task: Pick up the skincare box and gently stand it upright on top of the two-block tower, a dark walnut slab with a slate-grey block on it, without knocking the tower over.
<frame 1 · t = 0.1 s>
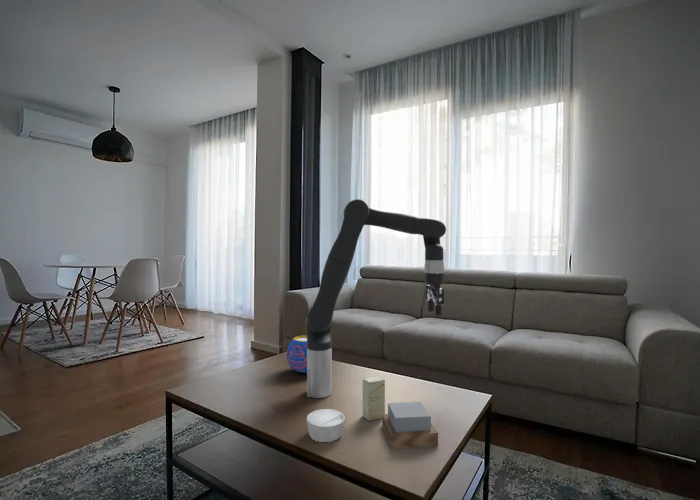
hand: (434, 313, 142), 29 cm above the table, tool pointing down, fingers open, 8 cm apart
ramekin: (325, 435, 106), on the table
skincare box: (373, 417, 118), on the table
walnut base block: (408, 436, 106), on the table, touching slate top block
slate top block: (408, 423, 106), point 4 cm above the table, touching walnut base block
ceramic pot: (306, 371, 162), on the table
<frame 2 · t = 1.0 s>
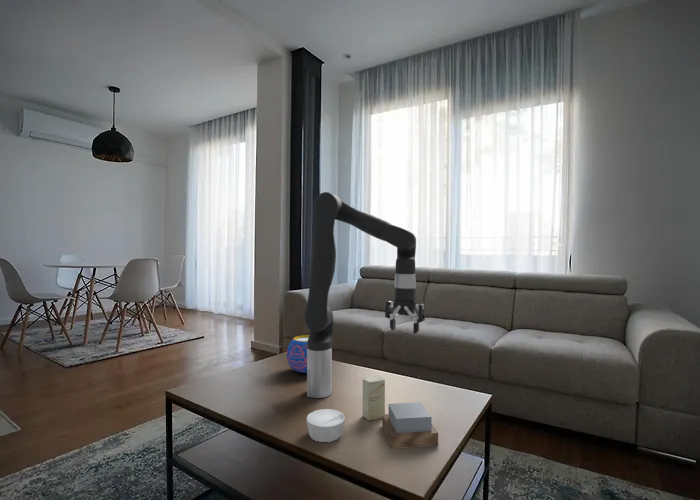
hand: (404, 331, 130), 25 cm above the table, tool pointing down, fingers open, 8 cm apart
nothing on the table moved.
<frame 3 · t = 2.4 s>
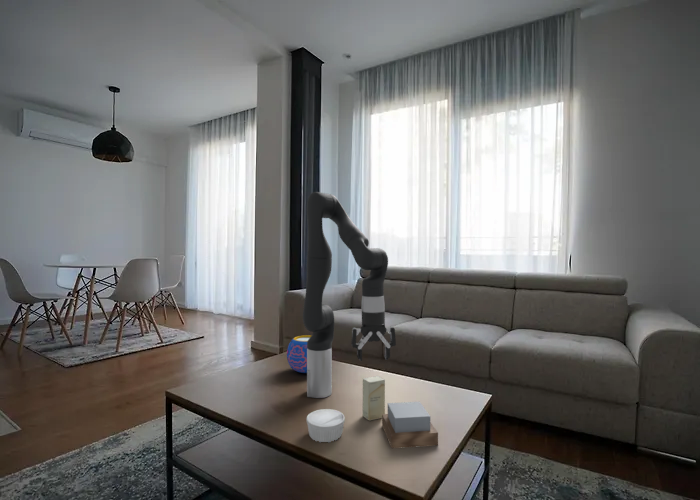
hand: (373, 359, 118), 18 cm above the table, tool pointing down, fingers open, 8 cm apart
nothing on the table moved.
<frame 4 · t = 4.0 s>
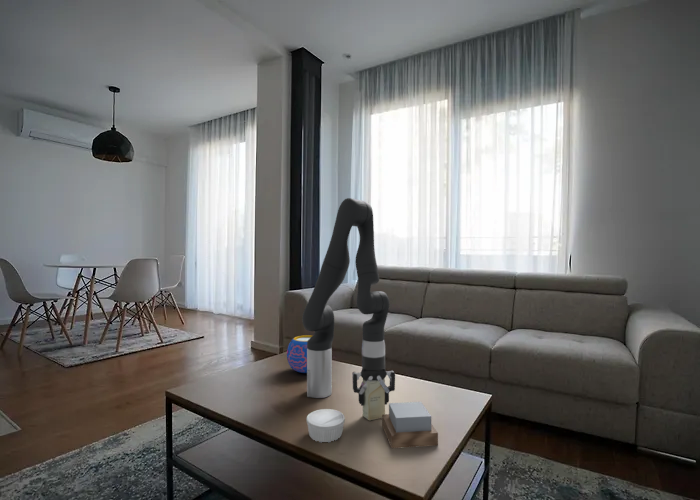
hand: (373, 404, 118), 4 cm above the table, tool pointing down, fingers closed on skincare box, 7 cm apart
skincare box: (373, 417, 118), on the table, touching gripper
everything else where it was.
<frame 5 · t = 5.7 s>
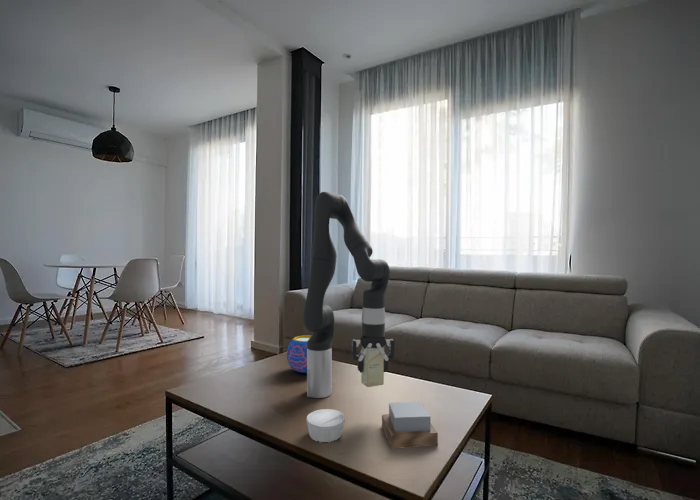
hand: (372, 371, 118), 14 cm above the table, tool pointing down, fingers closed on skincare box, 7 cm apart
skincare box: (372, 384, 118), point 10 cm above the table, touching gripper
everything else where it was.
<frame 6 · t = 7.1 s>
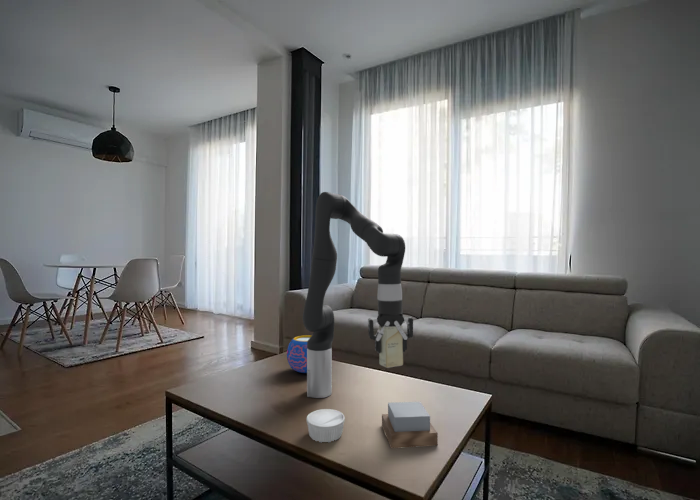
hand: (391, 351, 112), 23 cm above the table, tool pointing down, fingers closed on skincare box, 7 cm apart
skincare box: (391, 365, 112), point 18 cm above the table, touching gripper
everything else where it was.
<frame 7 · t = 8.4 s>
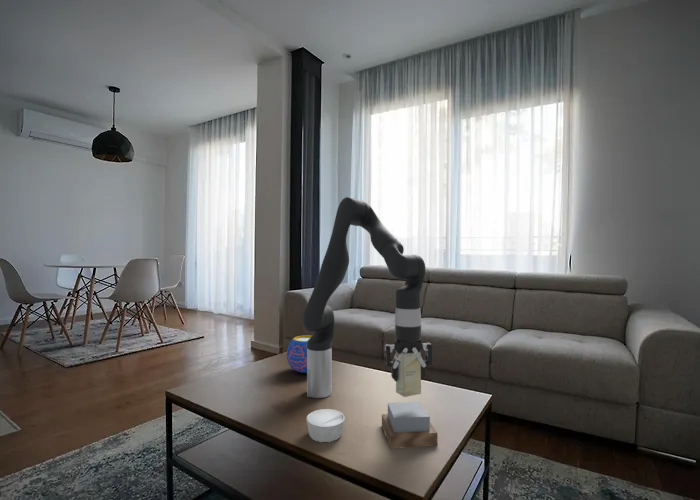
hand: (408, 379, 106), 16 cm above the table, tool pointing down, fingers closed on skincare box, 7 cm apart
skincare box: (408, 393, 106), point 12 cm above the table, touching gripper
everything else where it was.
when the fingers open (12 cm above the table, at t = 10.0 s): skincare box moves 1 cm, point 7 cm above the table.
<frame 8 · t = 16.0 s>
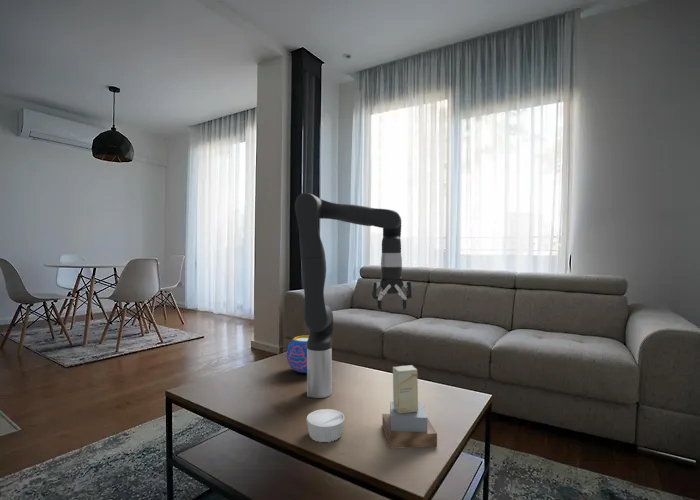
hand: (391, 310, 132), 32 cm above the table, tool pointing down, fingers open, 8 cm apart
skincare box: (405, 410, 105), point 7 cm above the table
at the end: skincare box inside the target area on the slate top block (0.7 cm from its centre), point 3.9 cm above the slate top block's base; skincare box tilted 2°; slate top block 0.3 cm off-centre on the walnut base block, point 4.0 cm above the walnut base block's base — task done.
